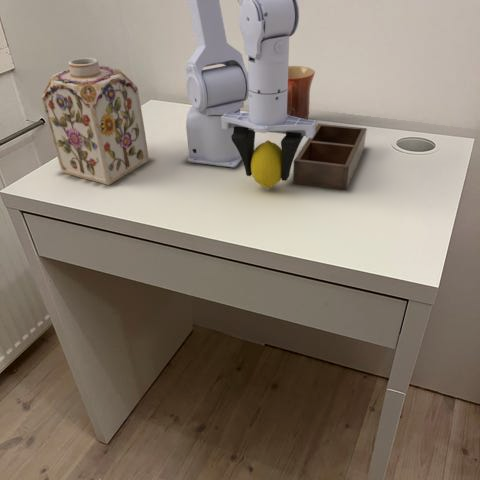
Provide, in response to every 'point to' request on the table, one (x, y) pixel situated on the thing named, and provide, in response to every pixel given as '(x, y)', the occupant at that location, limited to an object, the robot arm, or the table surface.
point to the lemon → (267, 164)
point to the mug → (299, 91)
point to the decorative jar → (95, 121)
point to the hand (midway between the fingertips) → (267, 175)
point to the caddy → (329, 156)
